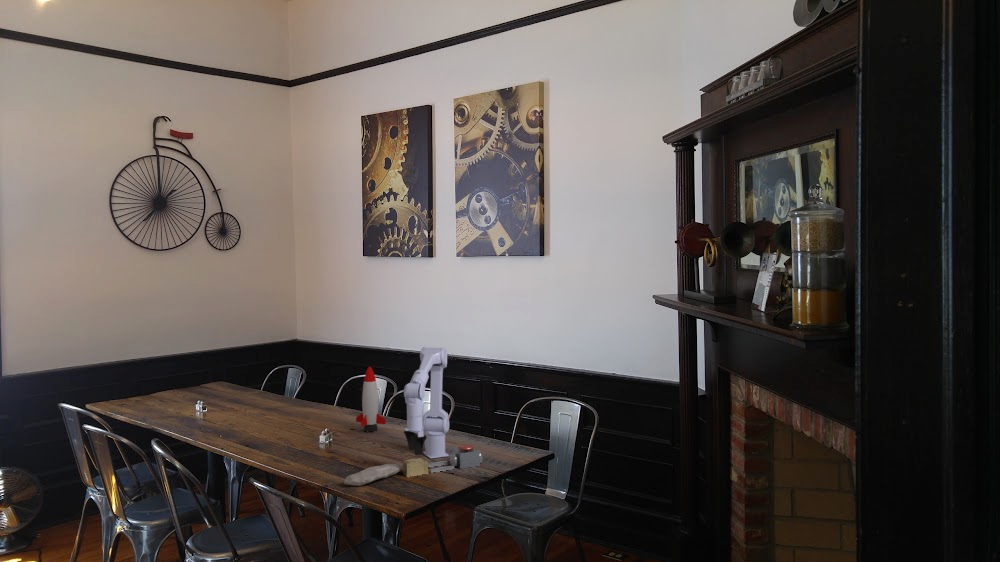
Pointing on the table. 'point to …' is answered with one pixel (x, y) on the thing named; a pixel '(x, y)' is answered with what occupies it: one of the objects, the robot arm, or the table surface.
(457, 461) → the valve
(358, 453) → the table surface
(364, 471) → the stone tool
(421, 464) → the gold flanged block
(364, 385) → the toy rocket
